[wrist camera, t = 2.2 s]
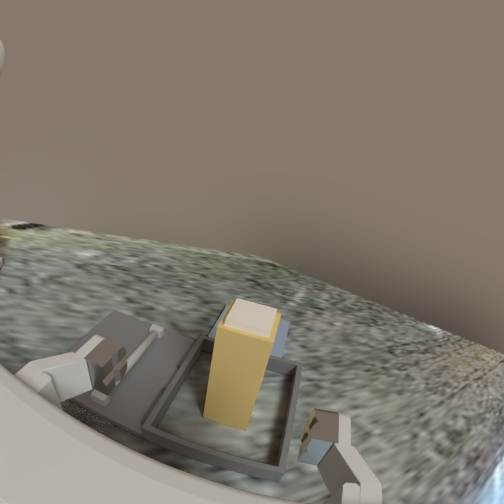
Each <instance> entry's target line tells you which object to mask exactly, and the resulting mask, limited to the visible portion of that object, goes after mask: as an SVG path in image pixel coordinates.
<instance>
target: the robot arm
mask: <svg viewBox="0 0 504 504" xmlns="http://www.w3.org/2000/svg"><path fill="white" fill-rule="evenodd" d="M4 59H5V52H4V47H3V44H2V42H1V40H0V74H1V72H2V69H3V65H4ZM2 265H3V259H2V257H0V268H1V266H2ZM125 355H126V348H124V347H122V346H120V345H118V344H116V343H114V342H112V341H110V340H108V339H106V338H103V337H101V336H99V335H94V336H93V337H92V338H91V339H90V340H89V341H87V342H86V343H85V344H84V345H83V346H82V347H81V348H80V349H79V350H78V351H76V352H75V353H74V352H70V353H65V354H61V355H57V356H52V357H48V358H43V359H39V360H34V361H30V362H29V363H28V364H26V365H25V366H24V367H23V368H22V369H21V370H19V371H18V372H17V373H16V374H15V375H13V374H12V373H11V372H9V371H8V370H7V369H6V368H5V367H3V366H2V365H1V364H0V504H309V503H302V502H296V501H290V500H285V499H280V498H275V497H270V496H265V495H261V494H256V493H252V492H248V491H244V490H240V489H237V488H233V487H230V486H226V485H223V484H219V483H216V482H213V481H210V480H207V479H204V478H201V477H198V476H195V475H192V474H189V473H187V472H184V471H181V470H179V469H176V468H173V467H171V466H168V465H166V464H163V463H161V462H159V461H156V460H154V459H152V458H149V457H147V456H145V455H143V454H141V453H138V452H136V451H134V450H132V449H130V448H128V447H126V446H124V445H122V444H120V443H118V442H116V441H114V440H112V439H110V438H108V437H106V436H105V435H103V434H101V433H99V432H97V431H95V430H94V429H92V428H90V427H88V426H87V425H85V424H83V423H82V422H80V421H78V420H77V419H75V418H73V417H72V416H70V415H69V414H67V413H66V412H64V411H63V409H62V406H61V403H60V402H62V401H65V400H67V399H70V398H72V397H75V396H77V395H80V394H82V393H84V392H87V391H89V390H92V388H93V389H95V390H97V391H99V392H101V393H103V394H105V395H107V396H108V395H109V394H110V393H111V392H112V391H113V389H114V388H115V387H116V383H115V382H117V381H120V380H122V378H123V377H124V376H125V373H126V371H127V361H126V359H125V358H124V357H125ZM301 442H302V443H303V444H302V446H301V447H300V449H299V456H298V462H302V463H307V464H312V465H317V467H318V470H319V472H320V474H321V476H322V478H323V480H324V482H325V484H326V486H327V488H328V490H329V493H330V495H331V497H330V498H329V499H328V500H327V501H326V502H325V503H324V504H382V484H381V483H380V482H379V480H378V479H377V478H376V476H375V475H374V473H373V472H372V471H371V469H370V468H369V467H368V465H367V464H366V462H365V461H364V460H363V458H362V457H361V455H360V454H359V453H358V451H357V450H356V448H355V447H354V446H351V417H350V415H348V414H342V413H337V412H331V411H326V410H321V409H316V408H314V409H313V411H312V412H311V416H310V419H309V420H307V422H306V424H305V426H304V429H303V432H302V437H301Z"/></svg>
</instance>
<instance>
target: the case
mask: <svg viewBox="0 0 504 504" xmlns="http://www.w3.org/2000/svg"><path fill="white" fill-rule="evenodd" d="M94 335H99V336H101V337H103V338H106V339H108V340H110V341H112V342H114V343H116V344H118V345H120V346H122V347H124V348H126V355H125V357H124V358H125V359H126V361H127V371H126V373H125V376H124V377H123V378H122V380H120V381H117V382H115V383H116V387H115V388H114V389H113V391H112V392H111V393H110V394H109V395H108V396H107V395H105V394H103V393H101V392H99V391H97V390H95V389H93V388H92V390H89V391H87V392H84V393H82V394H80V395H77V396H75V397H72V398H70V399H69V400H71V401H72V402H74V403H76V404H77V405H79V406H81V407H82V408H84V409H86V410H88V411H89V412H91V413H93V414H95V415H97V416H98V417H100V418H102V419H104V420H106V421H108V422H110V423H112V424H114V425H116V426H118V427H120V428H122V429H124V430H126V431H128V432H130V433H132V434H134V435H136V436H138V437H141V438H142V437H143V439H145V440H147V441H150V442H152V443H154V444H157V445H159V446H161V447H164V448H166V449H169V450H171V451H174V452H177V453H179V454H182V455H185V456H187V457H190V458H193V459H196V460H199V461H202V462H205V463H208V464H211V465H214V466H217V467H220V468H224V469H227V470H230V471H234V472H237V473H241V474H245V475H249V476H253V477H257V478H261V479H265V480H270V481H275V482H279V480H280V479H281V478H282V476H283V475H284V472H285V467H286V462H287V456H288V451H289V446H290V440H291V434H292V428H293V423H294V416H295V410H296V404H297V397H298V391H299V384H300V377H301V370H302V363H300V362H296V361H292V360H288V359H284V358H280V357H276V356H272V355H270V357H269V360H268V363H267V366H266V370H270V371H274V372H277V373H281V374H285V375H289V376H293V378H292V384H291V390H290V395H289V401H288V406H287V412H286V417H285V422H284V427H283V432H282V437H281V442H280V446H279V451H278V456H277V460H276V465H275V466H273V465H268V464H264V463H260V462H256V461H252V460H248V459H244V458H241V457H237V456H233V455H230V454H227V453H223V452H220V451H217V450H214V449H211V448H208V447H205V446H202V445H199V444H196V443H193V442H190V441H187V440H185V439H182V438H179V437H177V436H174V435H172V434H169V433H167V432H164V431H162V430H159V429H157V426H158V424H159V423H160V421H161V419H162V418H163V416H164V414H165V413H166V411H167V409H168V408H169V406H170V404H171V403H172V401H173V399H174V398H175V396H176V394H177V393H178V391H179V389H180V387H181V386H182V384H183V382H184V381H185V379H186V377H187V376H188V374H189V372H190V371H191V369H192V367H193V366H194V364H195V362H196V360H197V359H198V357H199V355H200V354H201V352H202V350H203V351H206V352H209V353H212V354H213V349H214V342H215V339H214V338H211V337H208V336H205V335H202V334H201V335H200V337H199V338H198V340H194V339H191V338H188V337H185V336H182V335H179V334H176V333H174V332H171V331H168V330H165V329H164V328H162V327H160V326H157V325H154V324H153V325H152V324H149V323H146V322H144V321H141V320H139V319H136V318H133V317H131V316H128V315H126V314H123V313H121V312H118V311H116V310H114V311H113V312H112V313H111V314H109V315H108V316H107V317H106V318H105V319H104V320H103V321H101V322H100V323H99V324H98V325H97V326H96V327H95V328H93V329H92V330H91V331H90V332H89V333H88V334H87V335H86V336H84V337H83V338H82V339H81V340H80V341H79V342H78V343H77V344H76V345H74V346H73V347H72V348H71V349H70V350H69V351H68V352H67V353H70V352H74V353H75V352H76V351H78V350H79V349H80V348H81V347H82V346H83V345H84V344H85V343H86V342H87V341H89V340H90V339H91V338H92V337H93V336H94Z"/></svg>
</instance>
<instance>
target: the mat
mask: <svg viewBox="0 0 504 504" xmlns="http://www.w3.org/2000/svg"><path fill="white" fill-rule="evenodd" d="M228 307H229V305H228V304H227V305H226V307H225V309H224V310H223V312H222V314H221V315H220V317H219V319H218V320H217V322H216V324H215V325H214V327H213V329H212V330H211V332H210V333H209V335H208V337H211V338H214V339H215V336H216V330H217V326H218V324H219V322H220V321H221V319H222V317H223V316H224V314H225V312H226V310H227V309H228ZM289 323H290V322H289V321H286V320H282V319H280V321H279V325H278V329H277V332H276V336H275V340H274V343H273V347H272V350H271V353H270V355H272V356H276V357H280V358H282V356H283V351H284V347H285V342H286V338H287V333H288V328H289Z"/></svg>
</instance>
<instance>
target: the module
mask: <svg viewBox="0 0 504 504" xmlns="http://www.w3.org/2000/svg"><path fill="white" fill-rule="evenodd" d="M280 317H281V313H278V312H277V309H275V308H271V307H268V306H264V305H260V304H257V303H253V302H250V301H246V300H242V299H239V298H237V299H236V301H234V300H232V302H231V304H230V305H229V307H228V309H227V310H226V312H225V314H224V316H223V317H222V319H221V321H220V322H219V324H218V326H217V330H216V336H215V342H214V349H213V355H212V361H211V368H210V374H209V381H208V387H207V394H206V401H205V408H204V415H203V418H206V419H209V420H212V421H215V422H218V423H222V424H225V425H228V426H231V427H235V428H238V429H242V430H245V431H246V429H247V426H248V423H249V420H250V417H251V414H252V411H253V407H254V404H255V401H256V398H257V395H258V392H259V389H260V386H261V382H262V379H263V376H264V373H265V370H266V366H267V363H268V360H269V357H270V353H271V350H272V347H273V343H274V340H275V336H276V332H277V329H278V325H279V321H280Z"/></svg>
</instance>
